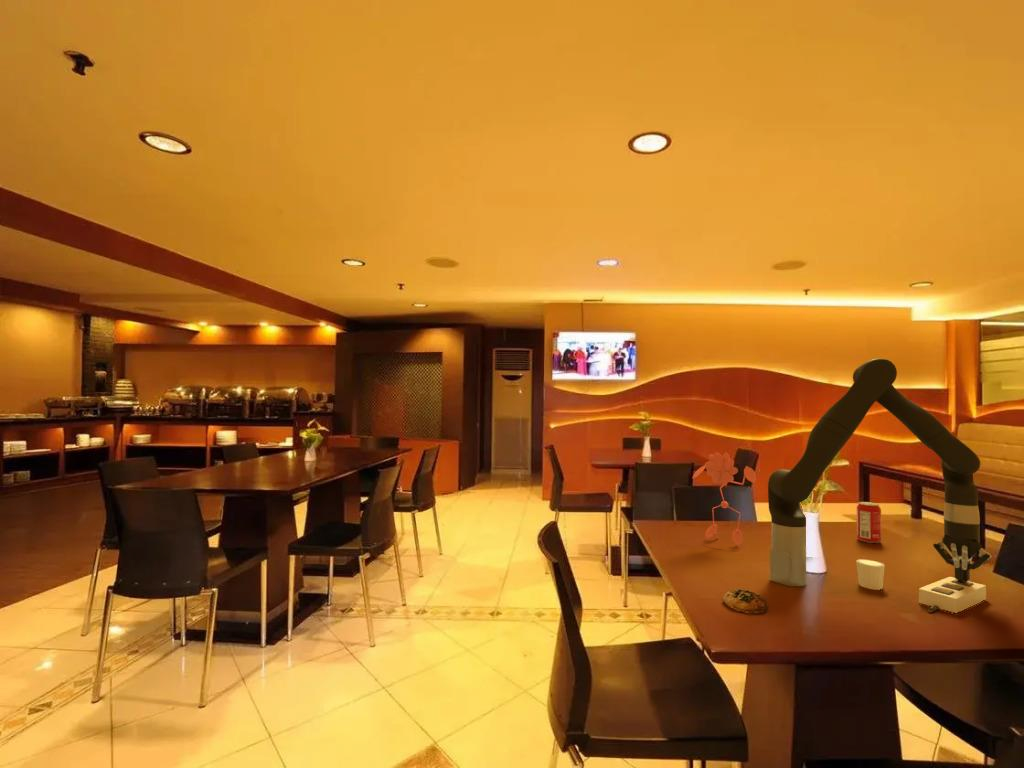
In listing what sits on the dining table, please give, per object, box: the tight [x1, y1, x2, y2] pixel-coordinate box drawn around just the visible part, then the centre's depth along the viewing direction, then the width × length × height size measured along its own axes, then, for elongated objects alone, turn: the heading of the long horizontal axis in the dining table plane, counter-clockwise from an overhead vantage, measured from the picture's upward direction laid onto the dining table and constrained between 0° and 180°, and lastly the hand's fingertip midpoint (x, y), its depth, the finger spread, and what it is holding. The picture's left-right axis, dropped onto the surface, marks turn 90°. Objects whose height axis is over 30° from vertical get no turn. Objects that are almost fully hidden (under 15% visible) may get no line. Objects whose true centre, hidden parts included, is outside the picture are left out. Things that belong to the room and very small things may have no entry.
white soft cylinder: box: [855, 558, 886, 591], centre depth 149 cm, size 7×7×7 cm
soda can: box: [856, 501, 882, 544], centre depth 199 cm, size 8×8×15 cm
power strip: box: [918, 576, 987, 613], centre depth 137 cm, size 24×8×4 cm, turn 120°
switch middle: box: [942, 583, 964, 591], centre depth 138 cm, size 4×4×2 cm
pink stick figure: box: [691, 451, 757, 547], centre depth 191 cm, size 15×26×35 cm, turn 40°
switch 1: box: [931, 587, 954, 595], centre depth 135 cm, size 4×4×2 cm
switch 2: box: [952, 579, 973, 587], centre depth 141 cm, size 4×4×2 cm
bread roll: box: [722, 589, 769, 614], centre depth 133 cm, size 11×11×5 cm
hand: (962, 581), depth 141 cm, fingers closed
